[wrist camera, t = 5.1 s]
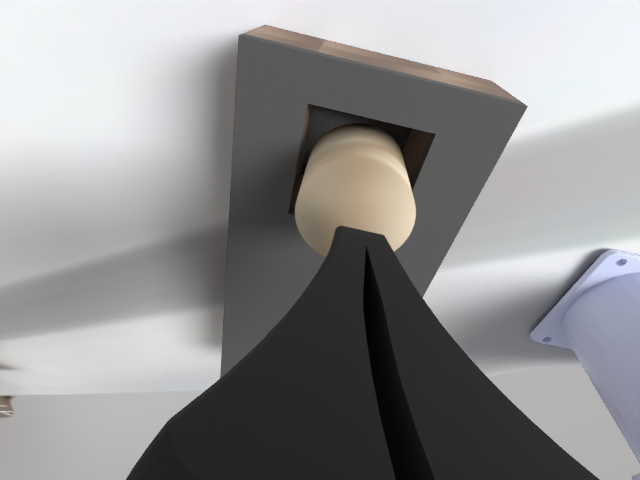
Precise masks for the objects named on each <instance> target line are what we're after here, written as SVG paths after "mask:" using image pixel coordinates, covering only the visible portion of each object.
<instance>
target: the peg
mask: <svg viewBox="0 0 640 480" xmlns="http://www.w3.org/2000/svg"><path fill="white" fill-rule="evenodd" d="M415 218H416V207H415V201H414V197H413V193H412V190H411V186H410V182H409V178H408V174H407V170H406V167H405V163H404V159H403V155H402V152H401V150H400V148H399V146H398V144H397V143H396V141H395V140H394V139H393V138H392V137H391V136H390V135H389V134H388V133H386V132H385V131H383V130H382V129H380V128H378V127H375V126H372V125H369V124H363V123H351V124H345V125H341V126H338V127H336V128H334V129H332V130H330V131H329V132H327V133H326V134H324V135H323V136H322V137H321V138H320V139H319V140H318V141H317V143H316V144H315V146H314V147H313V149H312V151H311V153H310V156H309V160H308V163H307V167H306V170H305V173H304V177H303V180H302V184H301V187H300V190H299V194H298V197H297V201H296V205H295V219H296V224H297V227H298V230H299V232H300V234H301V236H302V237H303V239H304V240H305V241H306V243H307V244H308V245H309V246H310V247H311V248H313V249H314V250H315V251H316V252H318V253H319V254H321V255H323V256H325V257H326V256H327V254H328V252H329V250H330V247H331V243H332V240H333V236H334V233H335V229H336V228H337V227H339V226H346V227H350V228H355V229H359V230H364V231H368V232H373V233H377V234H382V235H384V236H385V237H386V239H387V241H388V243H389V244H390V246H391V248H392V249H393V251H396V250H397V249H398V248H399V247H400V246H401V245H402V244H403V243H404V242H405V241H406V239H407V238H408V237H409V235H410V233H411V231H412V229H413V226H414V223H415Z"/></svg>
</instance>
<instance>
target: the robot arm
mask: <svg viewBox="0 0 640 480" xmlns="http://www.w3.org/2000/svg"><path fill="white" fill-rule="evenodd" d="M618 260H620V261H618ZM530 337H531V339H532V340H533V341H534V342H538V343H543V344H547V345H552V346H557V347H562V348H566V349H571V350H573V351H574V353H575V355H576V356H577V358H578V360H579V361H580V363H581V365H582V366H583V368H584V370H585V372H586V373H587V375H588V376H589V378H590V380H591V382H592V383H593V385H594V387H595V389H596V390H597V392H598V394H599V395H600V397H601V399H602V400H603V402H604V404H605V405H606V407H607V409H608V410H609V412H610V414H611V416H612V417H613V419H614V421H615V422H616V424H617V426H618V428H619V429H620V431H621V433H622V434H623V436H624V438H625V439H626V441H627V443H628V444H629V446H630V448H631V449H632V451H633V453H634V455H635V456H636V458H637V460H638V461H639V463H640V256H639V255H635V254H631V253H626V252H622V251H617V250H609V251H606V252H604V253H603V254H601V255H600V257H599V258H598V259H597V260H596V261H595V262H594V263H593V264H592V265H591V267H590V268H589V269H588V270H587V271H586V272H585V273H584V274H583V275H582V277H581V278H580V279H579V280H578V281H577V282H576V283H575V284H574V285H573V287H572V288H571V289H570V290H569V291H568V292H567V293H566V294H565V295H564V296H563V298H562V299H561V300H560V301H559V302H558V303H557V304H556V305H555V306H554V308H553V309H552V310H551V311H550V312H549V313H548V314H547V315H546V316H545V318H544V319H543V320H542V321H541V322H540V323H539V324H538V325H537V326H536V328H535V329H534V330H533V331H532V332H531V334H530ZM632 479H633V480H640V473H639V474H636V475H633V476H632ZM126 480H599V479H598V478H597V477H596V476H594V475H593V474H592V473H591V472H590V471H588V470H587V469H586V468H585V467H583V466H582V465H581V464H580V463H579V462H577V461H576V460H575V459H574V458H573V457H571V456H570V455H569V454H568V453H567V452H566V451H564V450H563V449H562V448H561V447H560V446H559V445H558V444H556V443H555V442H554V441H553V440H552V439H551V438H550V437H549V436H547V435H546V434H545V433H544V432H543V431H542V430H541V429H540V428H539V427H538V426H537V425H535V424H534V423H533V422H532V421H531V420H530V419H529V418H528V417H527V416H526V415H524V413H523V412H521V411H520V410H519V409H518V408H517V407H516V406H515V405H514V404H513V403H512V402H511V401H510V400H509V399H508V398H507V397H506V396H505V395H504V394H503V393H502V392H501V391H500V390H499V389H498V388H497V387H496V386H495V385H494V384H493V383H492V382H491V381H490V380H489V379H488V378H487V377H486V376H485V374H484V373H483V372H482V371H481V370H480V369H479V368H478V367H477V366H476V365H475V364H474V363H473V362H472V360H471V359H470V358H469V357H468V356H467V355H466V354H465V352H464V351H463V350H462V349H461V348H460V346H459V345H458V344H457V343H456V342H455V341H454V339H453V338H452V337H451V336H450V335H449V333H448V332H447V331H446V330H445V328H444V327H443V326H442V325H441V323H440V322H439V321H438V319H437V318H436V316H435V315H434V314H433V312H432V311H431V310H430V308H429V307H428V305H427V304H426V303H425V301H424V300H423V298H422V297H421V295H420V294H419V292H418V291H417V289H416V288H415V286H414V285H413V283H412V282H411V280H410V278H409V277H408V275H407V273H406V272H405V270H404V268H403V267H402V265H401V263H400V262H399V260H398V258H397V256H396V255H395V253H394V251H393V249H392V248H391V246H390V244H389V243H388V241H387V239H386V237H385V236H384V235H382V234H377V233H373V232H368V231H364V230H359V229H355V228H350V227H346V226H339V227H337V228H336V229H335V233H334V236H333V240H332V243H331V247H330V250H329V252H328V254H327V256H326V258H325V260H324V262H323V263H322V265H321V267H320V269H319V270H318V272H317V273H316V275H315V276H314V278H313V279H312V281H311V282H310V284H309V285H308V287H307V288H306V290H305V291H304V292H303V294H302V295H301V296H300V298H299V299H298V300H297V301H296V303H295V304H294V305H293V306H292V308H291V309H290V310H289V311H288V312H287V314H286V315H285V316H284V317H283V318H282V319H281V320H280V321H279V323H278V324H277V325H276V326H275V327H274V328H273V329H272V330H271V331H270V332H269V333H268V334H267V335H266V337H265V338H264V339H263V340H262V341H261V342H260V343H259V344H258V345H257V346H256V347H255V348H253V349H252V350H251V351H250V352H249V353H248V354H247V355H246V356H245V357H244V358H243V359H241V360H240V361H239V362H238V363H237V364H236V365H235V366H234V367H233V368H232V369H231V370H229V371H228V372H227V373H226V374H225V375H224V376H223V377H222V378H220V379H219V380H218V381H217V382H216V383H215V384H213V385H212V386H211V387H210V388H208V389H207V390H206V391H205V392H203V393H202V394H201V395H200V396H198V397H197V398H196V399H194V400H193V401H192V402H191V403H190V404H188V405H187V406H186V407H185V408H183V409H182V410H181V411H179V412H178V413H177V414H176V415H174V416H173V417H172V418H171V419H170V420H169V421H168V422H167V423H166V424H165V425H164V427H163V428H162V429H161V431H160V432H159V433H158V435H157V436H156V437H155V438H154V440H153V441H152V442H151V444H150V445H149V446H148V448H147V449H146V450H145V452H144V453H143V455H142V456H141V458H140V459H139V460H138V462H137V463H136V465H135V466H134V468H133V469H132V471H131V472H130V474H129V476H128V477H127V479H126Z"/></svg>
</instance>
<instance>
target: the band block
mask: <svg viewBox="0 0 640 480" xmlns="http://www.w3.org/2000/svg"><path fill="white" fill-rule="evenodd" d="M313 105H316V106H320V107H324V108H329V109H333V110H337V111H341V112H345V113H350V114H354V115H358V116H362V117H366V118H371V119H375V120H379V121H383V122H387V123H392V124H396V125H400V126H404V127H408V128H411V131H410V134H409V136H408V139H407V142H406V145H405V147H404V150H403V153H402V155H403V159H404V163H405V167H406V170H407V174H408V178H409V182H410V186H411V190H412V193H413V197H414V201H415V207H416V218H415V223H414V226H413V229H412V231H411V233H410V235H409V237H408V238H407V239H406V241H405V242H404V243H403V244H402V245H401V246H400V247H399V248H398V249H397V250H396V251H394V253H395V255H396V256H397V258H398V260H399V262H400V263H401V265H402V267H403V268H404V270H405V272H406V273H407V275H408V277H409V278H410V280H411V282H412V283H413V285H414V286H415V288H416V289H417V291H418V292H419V294H420V295H421V297H423V296H424V294H425V292H426V290H427V288H428V287H429V285H430V283H431V281H432V279H433V277H434V276H435V274H436V272H437V270H438V268H439V267H440V265H441V263H442V261H443V259H444V257H445V256H446V254H447V252H448V250H449V248H450V247H451V245H452V243H453V241H454V239H455V237H456V236H457V234H458V232H459V230H460V228H461V227H462V225H463V223H464V221H465V219H466V217H467V216H468V214H469V212H470V210H471V208H472V207H473V205H474V203H475V201H476V199H477V197H478V196H479V194H480V192H481V190H482V188H483V187H484V185H485V183H486V181H487V179H488V177H489V176H490V174H491V172H492V170H493V168H494V167H495V165H496V163H497V161H498V159H499V157H500V156H501V154H502V152H503V150H504V148H505V147H506V145H507V143H508V141H509V139H510V137H511V136H512V134H513V132H514V130H515V128H516V127H517V125H518V123H519V121H520V119H521V117H522V116H523V114H524V112H525V110H526V108H527V107H528V106H526V105H525V104H523V103H522V102H521V101H519V100H518V99H516V98H515V97H514V96H512V95H511V94H509V93H508V92H506V91H505V90H504V89H502V88H501V87H499V86H498V85H497V84H495V83H494V82H492V81H490V80H486V79H482V78H478V77H474V76H469V75H465V74H461V73H457V72H453V71H449V70H445V69H441V68H437V67H433V66H429V65H425V64H421V63H417V62H413V61H409V60H405V59H401V58H397V57H393V56H389V55H385V54H381V53H377V52H372V51H368V50H364V49H360V48H356V47H352V46H348V45H344V44H340V43H336V42H332V41H328V40H324V39H320V38H316V37H312V36H308V35H304V34H300V33H296V32H292V31H288V30H284V29H279V28H275V27H271V26H267V25H264V26H262V27H259V28H257V29H254V30H252V31H249V32H247V33H244V34H242V35H239V42H238V61H237V79H236V98H235V116H234V135H233V154H232V172H231V191H230V210H229V228H228V247H227V265H226V284H225V303H224V321H223V340H222V358H221V377H220V378H222V377H223V376H224V375H225V374H226V373H227V372H228V371H229V370H231V369H232V368H233V367H234V366H235V365H236V364H237V363H238V362H239V361H240V360H241V359H243V358H244V357H245V356H246V355H247V354H248V353H249V352H250V351H251V350H252V349H253V348H255V347H256V346H257V345H258V344H259V343H260V342H261V341H262V340H263V339H264V338H265V337H266V335H267V334H268V333H269V332H270V331H271V330H272V329H273V328H274V327H275V326H276V325H277V324H278V323H279V321H280V320H281V319H282V318H283V317H284V316H285V315H286V314H287V312H288V311H289V310H290V309H291V308H292V306H293V305H294V304H295V303H296V301H297V300H298V299H299V298H300V296H301V295H302V294H303V292H304V291H305V290H306V288H307V287H308V285H309V284H310V282H311V281H312V279H313V278H314V276H315V275H316V273H317V272H318V270H319V269H320V267H321V265H322V263H323V262H324V260H325V258H326V257H325V256H323V255H321V254H319V253H318V252H316V251H315V250H314V249H313V248H311V247H310V246H309V245H308V244H307V243H306V241H305V240H304V239H303V237H302V236H301V234H300V232H299V230H298V227H297V224H296V219H295V205H296V201H297V197H298V194H299V190H300V187H301V184H302V180H303V177H304V175H301V169H302V164H303V158H304V153H305V148H306V142H307V137H308V131H309V126H310V121H311V115H312V110H313Z"/></svg>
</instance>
